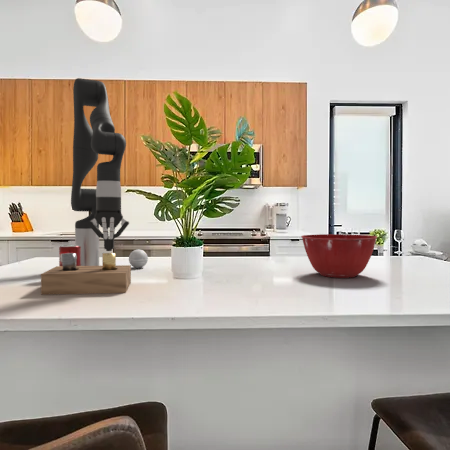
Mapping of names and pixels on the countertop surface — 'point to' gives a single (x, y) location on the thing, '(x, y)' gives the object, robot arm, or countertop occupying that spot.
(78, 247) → the soda can
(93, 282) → the socket block
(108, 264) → the brass peg
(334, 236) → the mixing bowl
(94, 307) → the countertop surface
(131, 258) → the bath bomb
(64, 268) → the graphite peg
